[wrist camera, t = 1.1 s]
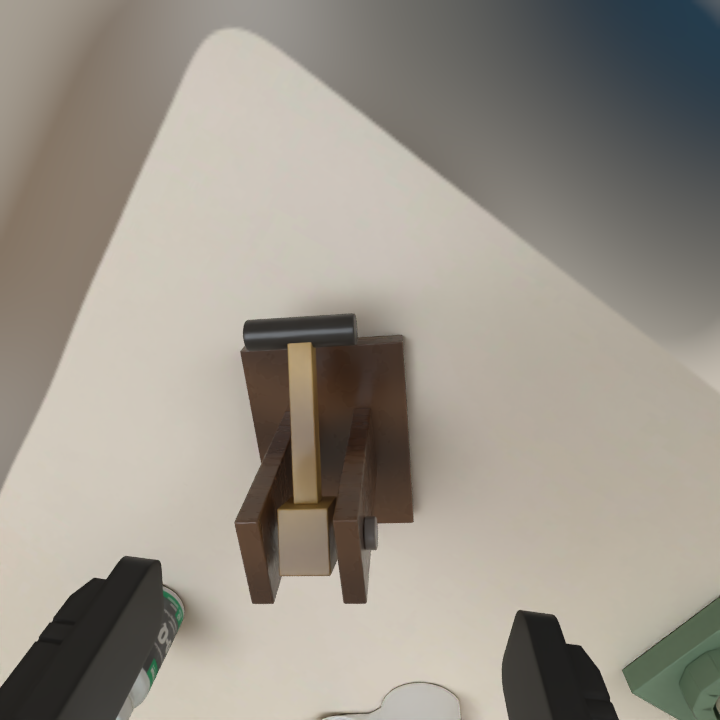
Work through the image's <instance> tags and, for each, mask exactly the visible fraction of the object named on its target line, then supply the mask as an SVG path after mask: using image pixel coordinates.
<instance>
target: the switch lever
mask: <svg viewBox="0 0 720 720" xmlns="http://www.w3.org/2000/svg"><path fill="white" fill-rule="evenodd" d="M243 338H244V343H245V346H246V349H247V350H248V351H266V350H283V349H288V373H289V398H290V424H291V450H292V476H293V497H291V498H290V499H288V500H287V501H286V502H285V503H284V504H283V505H282V506H281V507H279V508H278V509H277V521H278V549H279V575H280V576H330V575H331V573H332V571H333V569H334V566H335V564H336V562H337V560H338V557H337V549H336V542H335V534H334V527H333V516H334V511H335V506H336V501H337V499H336V496H322V487H321V464H320V440H319V416H318V392H317V368H316V348H319V347H336V346H354V345H356V344H357V321H356V316H355V314H353V313H352V314H336V315H320V316H304V317H289V318H273V319H257V320H247V321H246V322H245V324H244V328H243Z"/></svg>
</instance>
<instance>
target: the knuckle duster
mask: <svg viewBox="0 0 720 720" xmlns="http://www.w3.org/2000/svg"><path fill="white" fill-rule="evenodd" d="M322 720H461V714H460V705H459V700H458V699H457V698H456V697H455V696H454V695H453V694H452V693H451V692H449V691H448V690H446V689H444V688H442V687H440V686H437V685H433V684H428V683H411V684H406V685H402V686H400V687H397V688H395V689H394V690H392V691H391V692H390V693H389V694H388V695H387V696H386V697H385V698H384V700H383V703H382V706H381V708H379V709H377V710H376V711H374V712H372V713H370V714H346V715H341V716H332V717H327V718H324V719H322Z"/></svg>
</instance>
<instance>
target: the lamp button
mask: <svg viewBox="0 0 720 720" xmlns="http://www.w3.org/2000/svg"><path fill="white" fill-rule="evenodd" d="M716 708H717V710H718V712H719V714H720V696H719V697H718V699H717V701H716Z"/></svg>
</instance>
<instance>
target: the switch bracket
mask: <svg viewBox="0 0 720 720" xmlns="http://www.w3.org/2000/svg"><path fill="white" fill-rule="evenodd" d="M241 357H242V363H243V368H244V373H245V379H246V384H247V389H248V395H249V400H250V405H251V411H252V416H253V421H254V427H255V432H256V437H257V443H258V448H259V453H260V459H261V466H260V468H259V470H258V472H257V474H256V476H255V479H254V481H253V483H252V485H251V487H250V490H249V492H248V494H247V496H246V498H245V500H244V503H243V505H242V507H241V509H240V511H239V513H238V516H237V518H236V520H235V528H236V532H237V537H238V541H239V546H240V550H241V555H242V559H243V564H244V568H245V573H246V577H247V582H248V586H249V591H250V595H251V600H252V603H253V604H273V603H274V601H275V598H276V594H277V591H278V587H279V584H280V580H281V577H282V576H280V575H279V549H278V521H277V509H278V508H279V507H281V506H282V505H283V504H284V503H285V502H286V501H287V500H288V499H290V498H291V497H293V476H292V450H291V424H290V398H289V373H288V349H283V350H266V351H248V350H247V349H246V346H244V348H243V349H242V350H241ZM316 368H317V392H318V416H319V440H320V464H321V487H322V496H336V499H337V501H336V506H335V511H334V516H333V527H334V534H335V542H336V549H337V557H338V565H339V572H340V580H341V587H342V595H343V602H344V603H345V604H365V603H366V602H367V593H368V580H369V567H370V554H371V550H377V547H378V525H377V523H413V522H414V521H413V500H412V483H411V466H410V449H409V432H408V416H407V399H406V382H405V365H404V349H403V336H402V335H395V336H377V337H360V338H357V344H356V345H354V346H336V347H319V348H316Z"/></svg>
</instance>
